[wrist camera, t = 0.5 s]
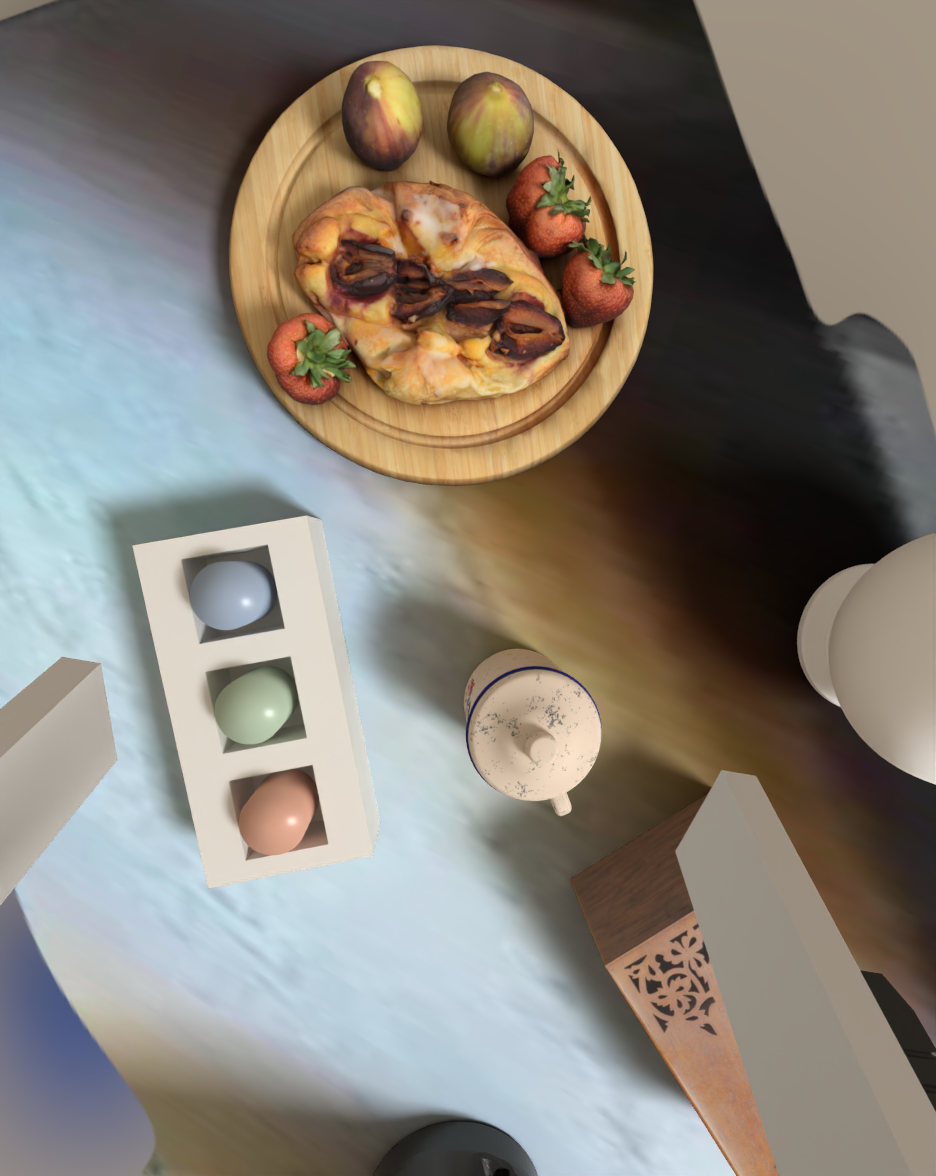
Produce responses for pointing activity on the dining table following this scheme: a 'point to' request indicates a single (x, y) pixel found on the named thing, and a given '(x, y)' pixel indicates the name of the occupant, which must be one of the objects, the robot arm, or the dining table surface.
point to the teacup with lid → (530, 727)
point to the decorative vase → (880, 652)
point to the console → (218, 657)
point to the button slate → (233, 594)
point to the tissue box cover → (674, 983)
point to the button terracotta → (279, 812)
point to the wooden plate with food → (441, 265)
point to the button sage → (256, 705)
